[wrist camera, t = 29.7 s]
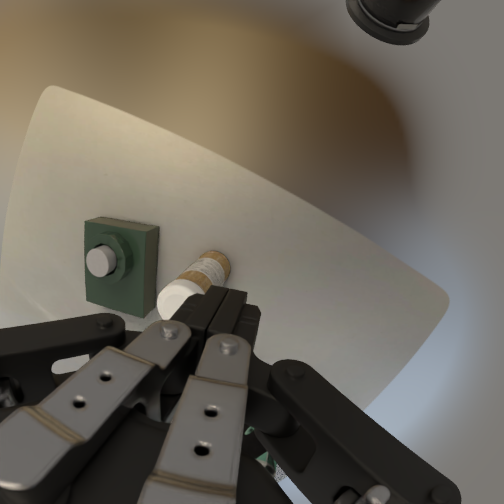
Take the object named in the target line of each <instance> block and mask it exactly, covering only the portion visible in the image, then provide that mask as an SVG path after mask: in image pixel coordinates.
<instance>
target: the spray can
mask: <svg viewBox="0 0 504 504" xmlns="http://www.w3.org/2000/svg"><path fill="white" fill-rule="evenodd" d="M254 429H255V428H253V427H251V426H249V425H247V424H245V423H244V428H243V437H242V445H241V450H242V451H244V452H246V453H248V454H249V455H251V456H252V457H254V458H255V459H256V460H257V461H259V462H260V463H261V464H262V465H263V466H264V467H265V468H266V469H267V470H268V471H269V472H270V474H271V475H272V476H273V478H274V477H275V474H276V465H277V463H276V462H275V460H274V459H273V458H272V457H271V455H270V454H269V453H268V452H267V450H266V449H265V448H264V447H263V445H262V444H261V443H260V441H259V440H258V439H257V437H256V436H255V432H254Z"/></svg>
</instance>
